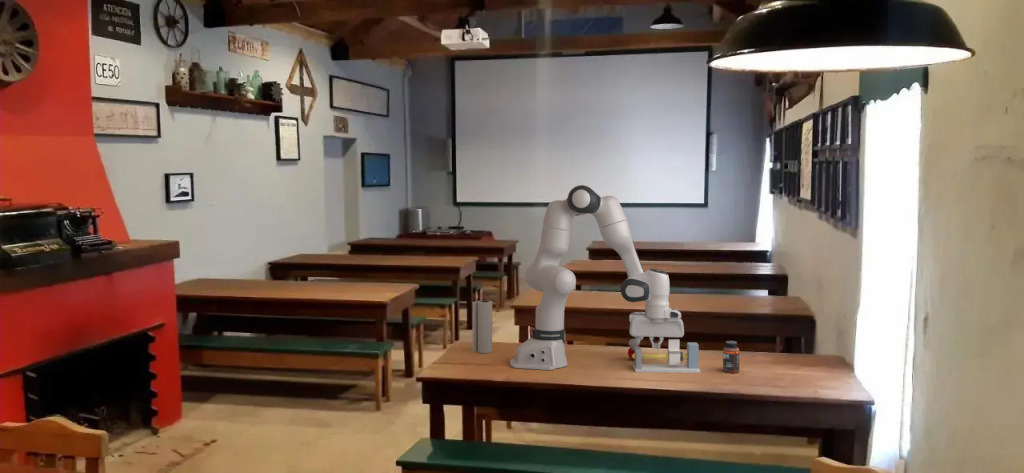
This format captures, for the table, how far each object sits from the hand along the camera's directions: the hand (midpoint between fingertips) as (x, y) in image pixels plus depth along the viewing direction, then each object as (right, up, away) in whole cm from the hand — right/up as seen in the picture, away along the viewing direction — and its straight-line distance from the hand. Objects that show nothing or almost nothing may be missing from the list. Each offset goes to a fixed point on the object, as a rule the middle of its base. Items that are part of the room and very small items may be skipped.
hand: (656, 348), depth 299 cm
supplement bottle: (+28, -9, -2) cm, 29 cm away
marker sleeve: (+7, -6, +1) cm, 9 cm away
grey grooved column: (-66, -6, +29) cm, 73 cm away
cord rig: (+4, -8, +1) cm, 9 cm away
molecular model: (-6, -7, +16) cm, 18 cm away
